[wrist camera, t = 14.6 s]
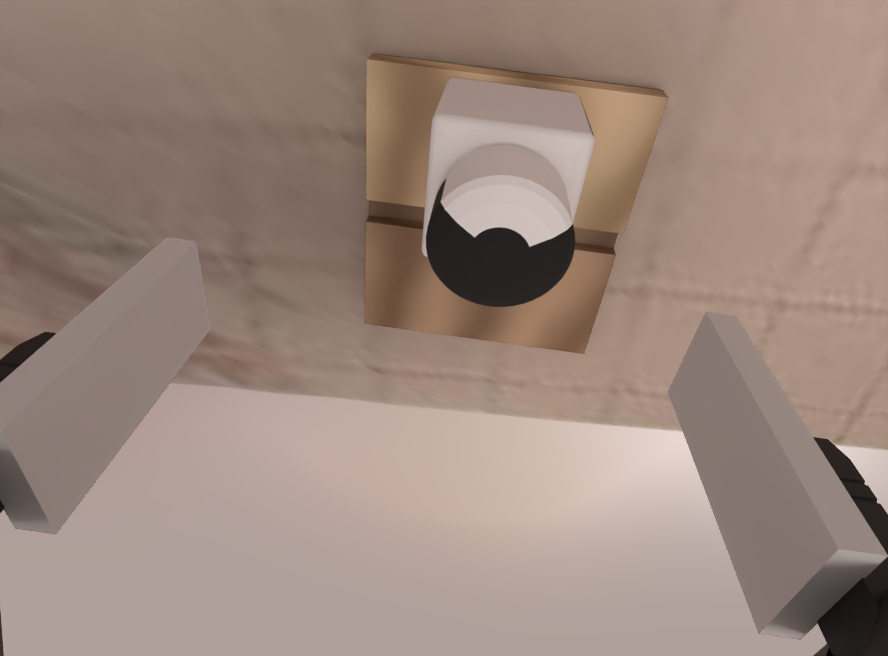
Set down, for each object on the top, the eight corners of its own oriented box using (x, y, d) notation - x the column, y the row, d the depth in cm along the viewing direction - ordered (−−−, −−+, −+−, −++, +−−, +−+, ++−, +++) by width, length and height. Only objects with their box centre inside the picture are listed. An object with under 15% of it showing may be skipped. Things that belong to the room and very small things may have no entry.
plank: (371, 189, 35) (366, 199, 34) (372, 53, 30) (366, 59, 29) (619, 222, 34) (623, 233, 33) (662, 90, 29) (668, 97, 28)
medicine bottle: (551, 215, 33) (567, 337, 23) (436, 199, 33) (404, 315, 24) (581, 92, 28) (614, 182, 19) (447, 75, 29) (415, 155, 19)
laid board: (368, 312, 40) (364, 323, 39) (371, 196, 35) (366, 205, 34) (582, 341, 40) (584, 353, 39) (616, 229, 35) (620, 239, 33)
